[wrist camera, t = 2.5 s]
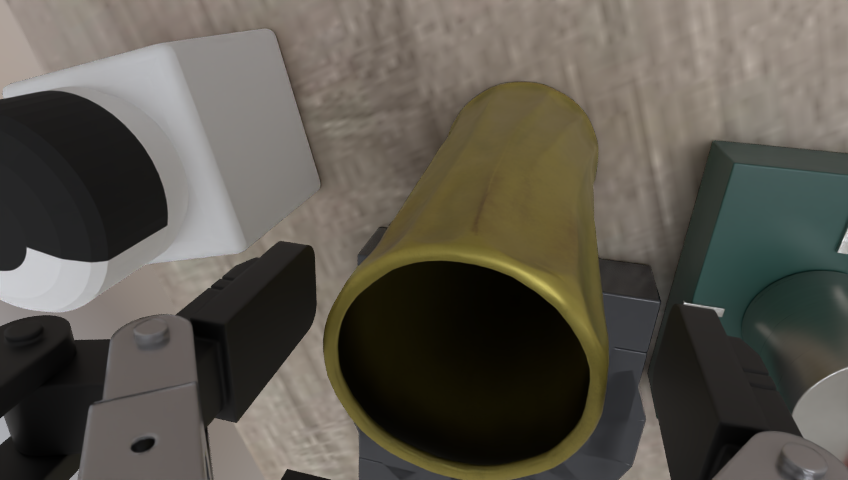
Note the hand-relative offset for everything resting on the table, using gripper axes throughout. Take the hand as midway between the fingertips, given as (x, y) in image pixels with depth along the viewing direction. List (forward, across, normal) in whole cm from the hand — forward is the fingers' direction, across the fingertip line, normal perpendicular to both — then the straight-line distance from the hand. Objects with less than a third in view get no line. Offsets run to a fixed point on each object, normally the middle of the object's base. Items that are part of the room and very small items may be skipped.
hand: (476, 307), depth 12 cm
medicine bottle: (+12, +13, 0) cm, 17 cm away
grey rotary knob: (+9, -11, +4) cm, 14 cm away
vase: (+12, 0, 0) cm, 12 cm away
